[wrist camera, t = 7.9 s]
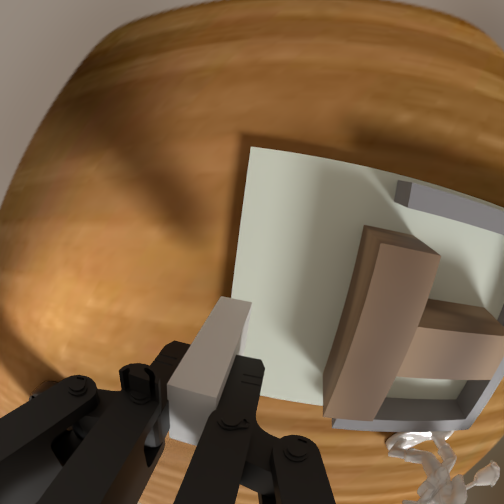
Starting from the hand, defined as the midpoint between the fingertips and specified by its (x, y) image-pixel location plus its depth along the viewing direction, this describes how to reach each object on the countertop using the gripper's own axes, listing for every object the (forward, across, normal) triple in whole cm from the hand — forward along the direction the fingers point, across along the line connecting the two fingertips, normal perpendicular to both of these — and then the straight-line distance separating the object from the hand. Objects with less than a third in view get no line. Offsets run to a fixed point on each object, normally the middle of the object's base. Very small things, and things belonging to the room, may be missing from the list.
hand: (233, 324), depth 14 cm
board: (+4, +9, 0) cm, 10 cm away
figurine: (+5, +18, -11) cm, 22 cm away
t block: (+3, +11, 0) cm, 11 cm away
